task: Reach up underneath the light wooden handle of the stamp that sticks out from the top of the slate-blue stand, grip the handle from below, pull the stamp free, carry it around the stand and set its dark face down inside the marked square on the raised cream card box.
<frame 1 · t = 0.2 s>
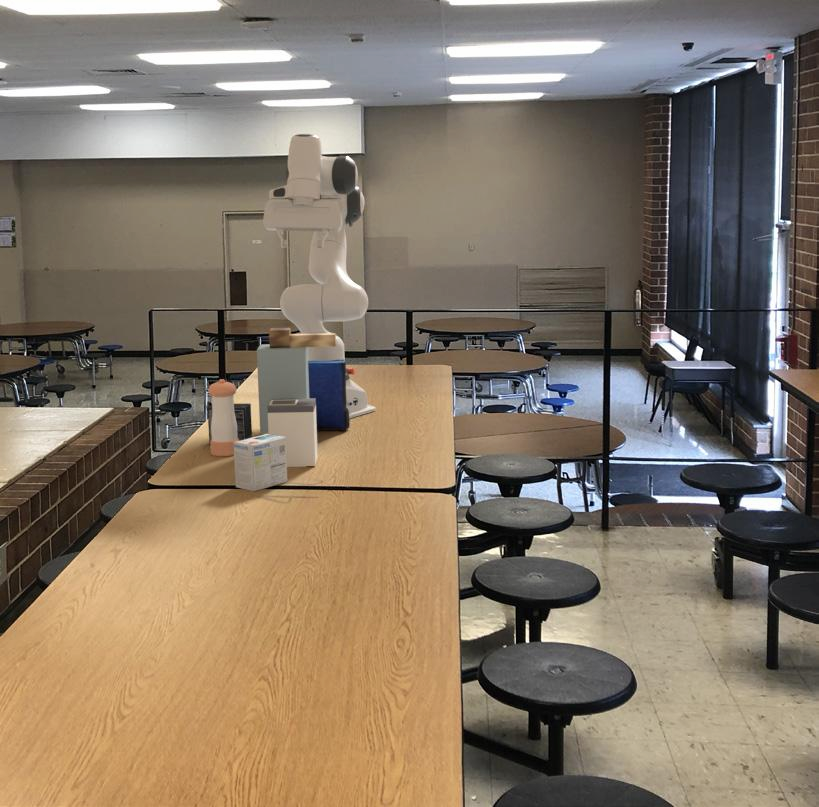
hand: (302, 247, 287), 52 cm above the table, tool tilted 15°, fingers open, 8 cm apart
blue fabric case: (324, 430, 312), on the table
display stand: (286, 450, 288), on the table
stamp: (280, 346, 283), point 27 cm above the table, touching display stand
light bulb box: (261, 485, 255), on the table
small box: (231, 444, 298), on the table
card box: (294, 462, 276), on the table
salt shaker: (225, 453, 287), on the table
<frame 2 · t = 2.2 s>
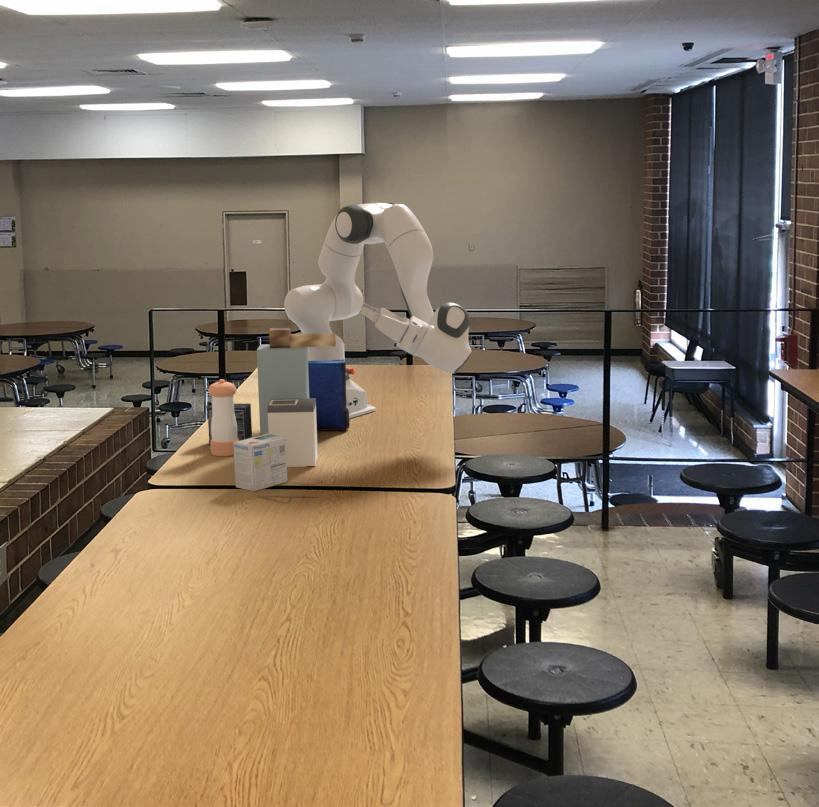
hand: (361, 307, 281), 37 cm above the table, tool pointing upward, fingers open, 8 cm apart
nothing on the table moved.
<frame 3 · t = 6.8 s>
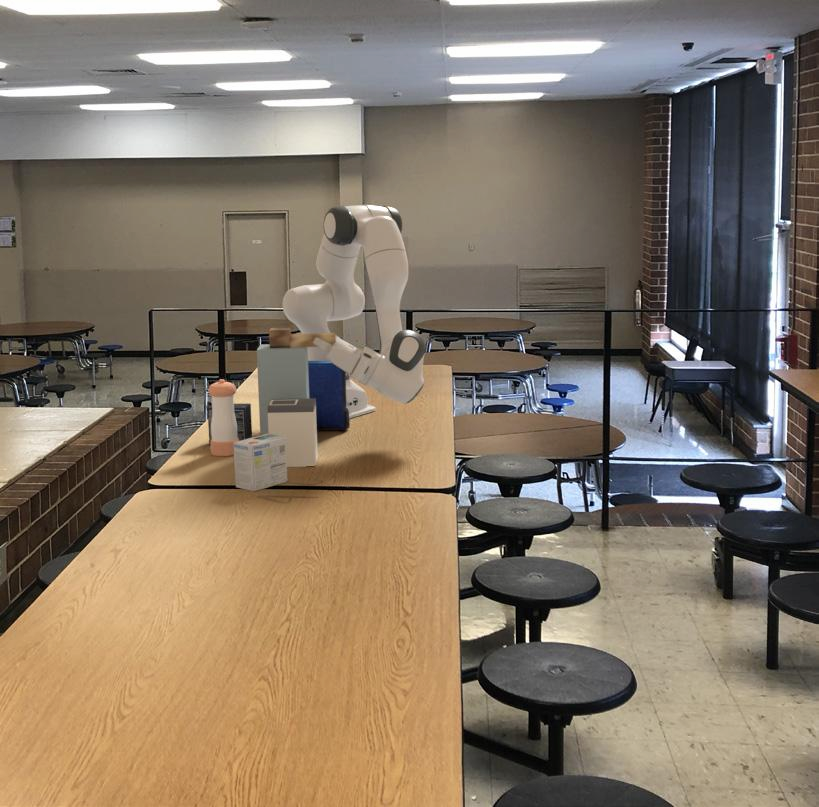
hand: (315, 338, 283), 29 cm above the table, tool pointing upward, fingers closed on stamp, 3 cm apart
stamp: (280, 346, 283), point 27 cm above the table, touching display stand, gripper
everything else where it was.
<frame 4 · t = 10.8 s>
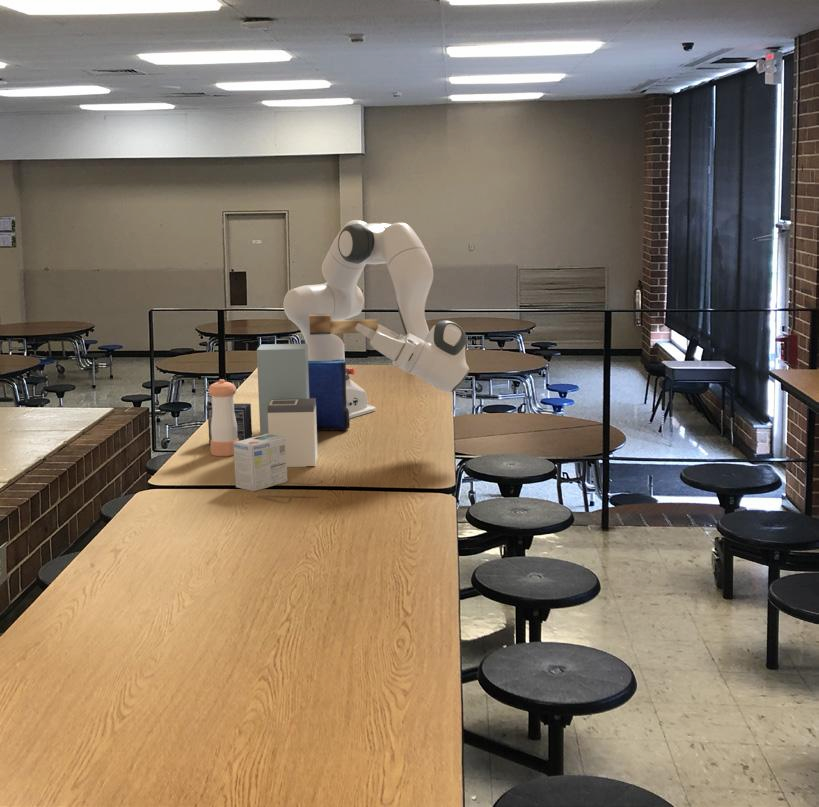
hand: (356, 324, 273), 33 cm above the table, tool pointing upward, fingers closed on stamp, 3 cm apart
stamp: (320, 333, 273), point 32 cm above the table, touching gripper
everything else where it was.
when the fingers open (19 cm above the table, at t = 14.8 s): stamp drops 2 cm, resting on card box.
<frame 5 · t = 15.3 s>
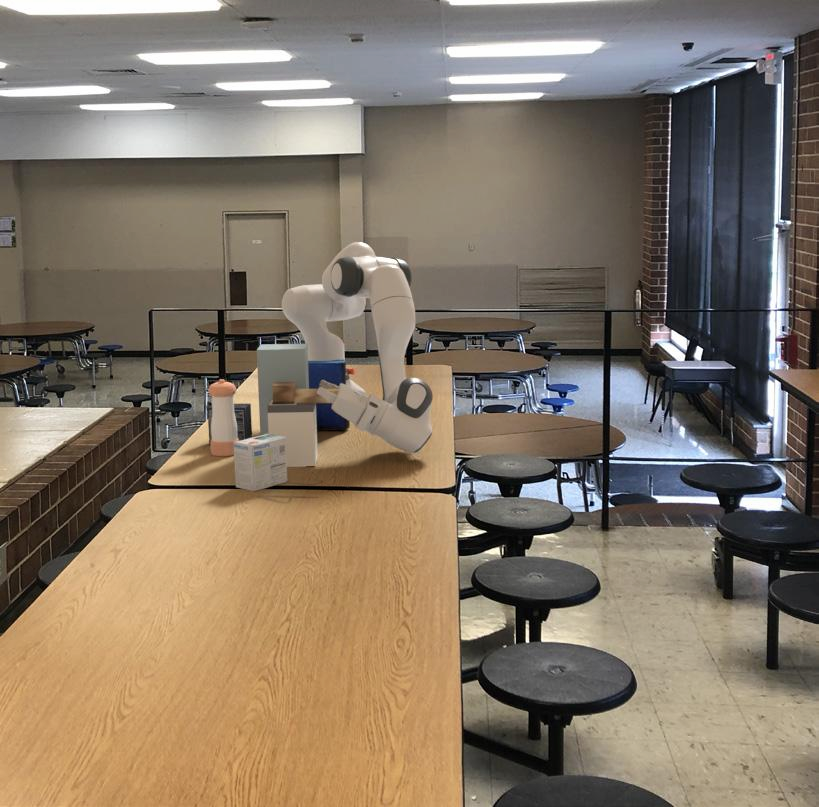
hand: (318, 386, 272), 19 cm above the table, tool pointing upward, fingers open, 8 cm apart
stamp: (284, 401, 273), point 15 cm above the table, touching card box
everything else where it was.
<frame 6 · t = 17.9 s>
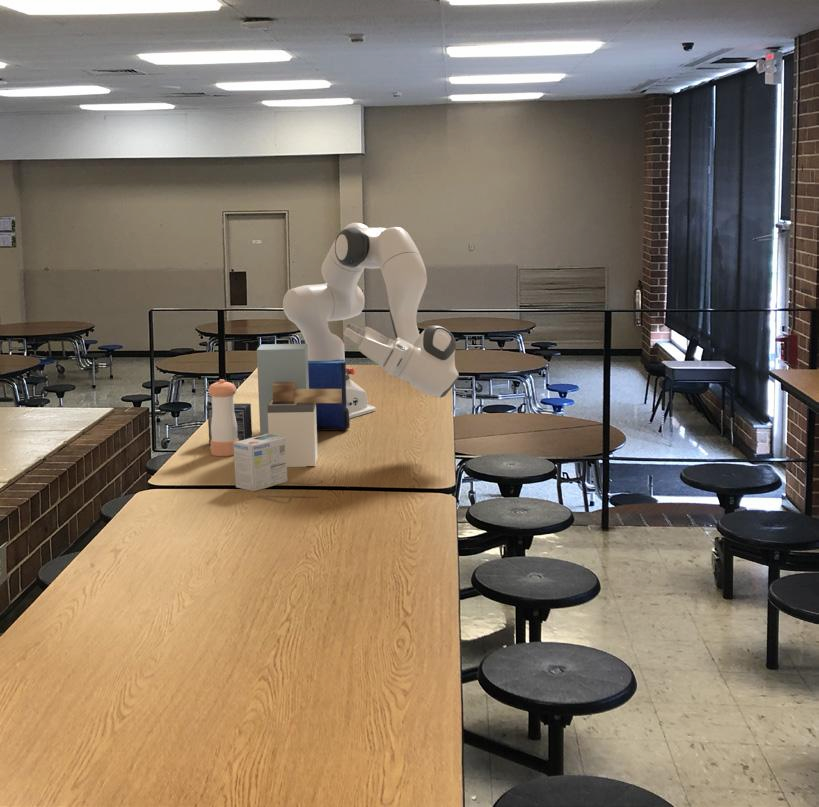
hand: (345, 328, 270), 33 cm above the table, tool pointing upward, fingers open, 8 cm apart
nothing on the table moved.
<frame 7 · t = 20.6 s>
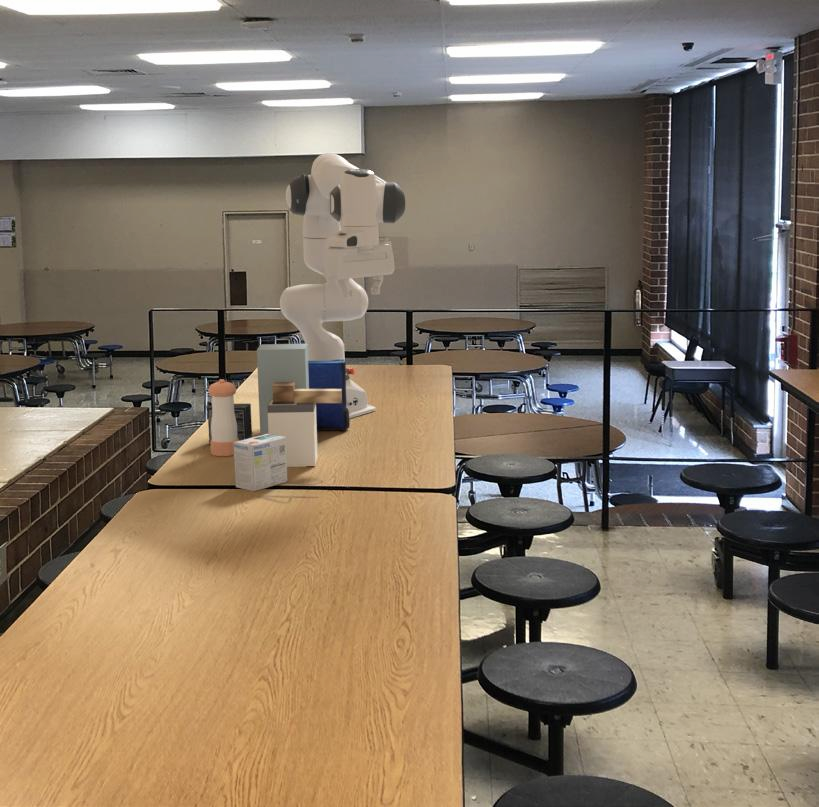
hand: (361, 296, 270), 41 cm above the table, tool pointing down, fingers open, 8 cm apart
nothing on the table moved.
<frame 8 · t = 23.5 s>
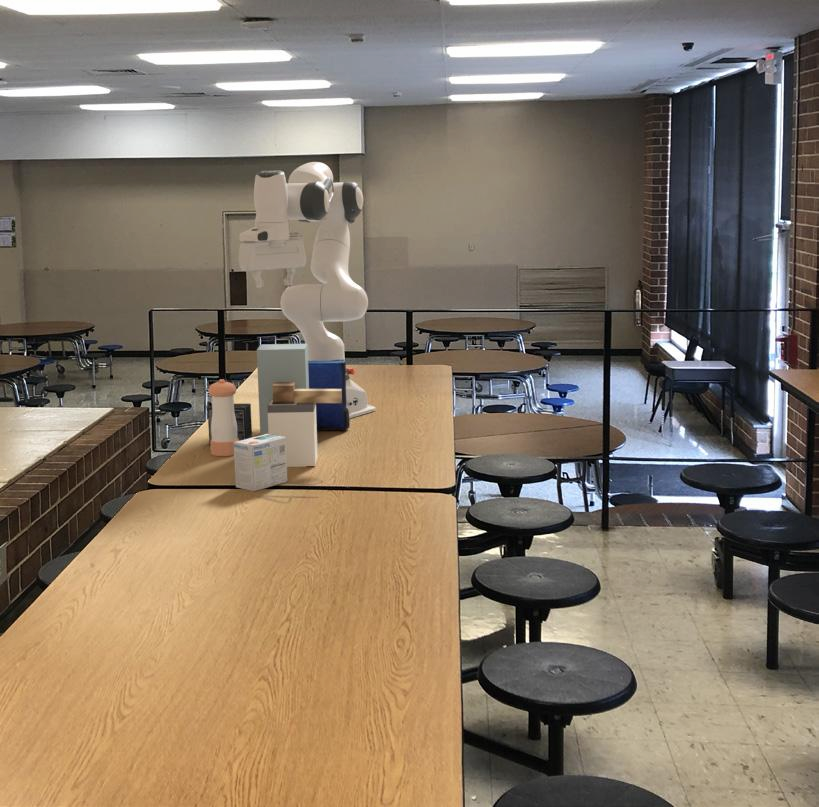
hand: (274, 286, 294), 41 cm above the table, tool pointing down, fingers open, 8 cm apart
nothing on the table moved.
at the end: stamp inside the target area (0.0 cm from its centre), point 15.2 cm above the table; stamp tilted 1°; the gripper is holding nothing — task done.
